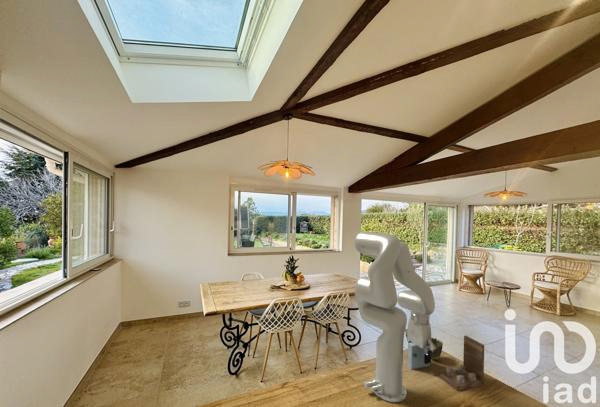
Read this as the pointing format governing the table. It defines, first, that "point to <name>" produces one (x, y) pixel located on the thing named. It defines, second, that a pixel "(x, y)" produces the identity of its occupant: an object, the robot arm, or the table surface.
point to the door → (416, 356)
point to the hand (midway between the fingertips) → (419, 356)
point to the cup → (438, 348)
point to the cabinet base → (467, 367)
